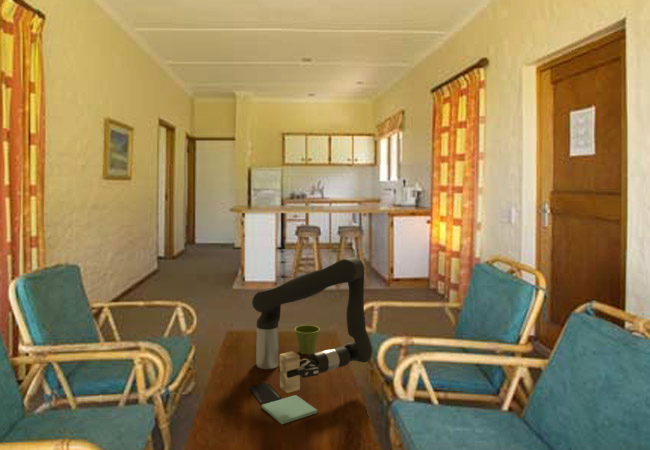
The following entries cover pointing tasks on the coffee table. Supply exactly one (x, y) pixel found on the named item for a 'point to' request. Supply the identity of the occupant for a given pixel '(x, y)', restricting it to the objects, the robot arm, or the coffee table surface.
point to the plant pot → (307, 338)
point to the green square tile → (289, 409)
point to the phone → (265, 393)
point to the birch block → (286, 364)
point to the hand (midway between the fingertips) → (283, 372)
